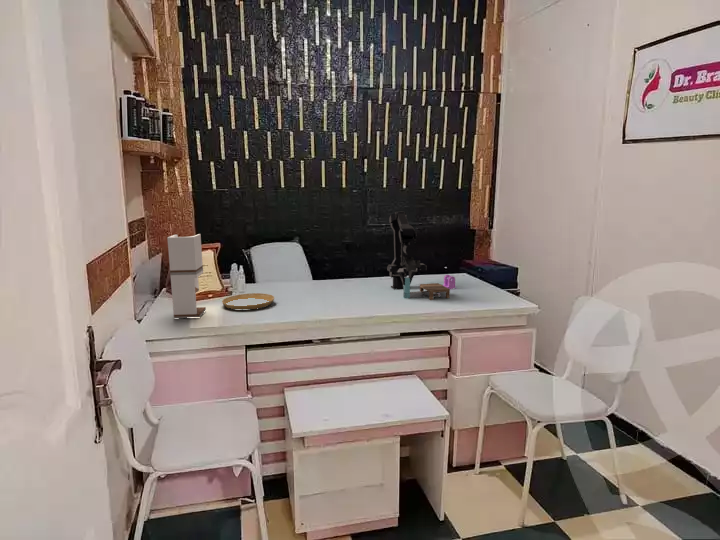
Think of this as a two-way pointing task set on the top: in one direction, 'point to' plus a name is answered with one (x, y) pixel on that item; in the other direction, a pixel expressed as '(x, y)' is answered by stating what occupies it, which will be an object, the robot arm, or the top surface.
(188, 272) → the grey segmented column
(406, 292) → the teal angled piece
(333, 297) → the top surface
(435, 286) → the stand
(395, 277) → the robot arm
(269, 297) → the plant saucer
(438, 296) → the disc
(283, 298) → the top surface
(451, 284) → the bracket
